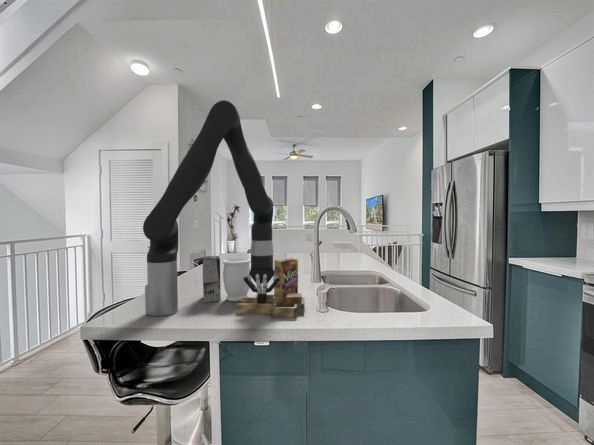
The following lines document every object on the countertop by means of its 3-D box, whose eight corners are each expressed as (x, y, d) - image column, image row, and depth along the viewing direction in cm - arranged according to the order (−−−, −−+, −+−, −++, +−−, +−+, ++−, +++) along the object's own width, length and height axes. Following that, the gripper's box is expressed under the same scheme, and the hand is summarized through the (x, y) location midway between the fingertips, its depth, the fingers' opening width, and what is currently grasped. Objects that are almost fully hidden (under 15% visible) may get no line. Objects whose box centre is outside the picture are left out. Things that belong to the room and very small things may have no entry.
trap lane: (233, 317, 100) (233, 307, 100) (244, 302, 116) (244, 294, 116) (303, 317, 99) (303, 308, 99) (304, 302, 115) (304, 294, 115)
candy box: (281, 303, 115) (280, 261, 115) (273, 300, 118) (273, 260, 118) (298, 298, 121) (298, 258, 121) (291, 296, 124) (290, 257, 124)
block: (286, 312, 105) (286, 297, 105) (287, 307, 110) (287, 293, 110) (301, 312, 105) (301, 297, 104) (301, 307, 110) (301, 293, 109)
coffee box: (221, 301, 119) (220, 258, 118) (203, 302, 117) (202, 259, 116) (219, 295, 128) (218, 255, 127) (203, 296, 126) (202, 256, 125)
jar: (236, 294, 129) (236, 257, 129) (256, 297, 124) (256, 259, 123) (217, 300, 120) (216, 260, 119) (238, 304, 115) (237, 262, 114)
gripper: (240, 254, 104) (240, 307, 104) (280, 254, 103) (280, 307, 103) (245, 252, 111) (245, 300, 112) (282, 252, 110) (282, 301, 111)
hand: (262, 304), depth 108 cm, fingers closed
